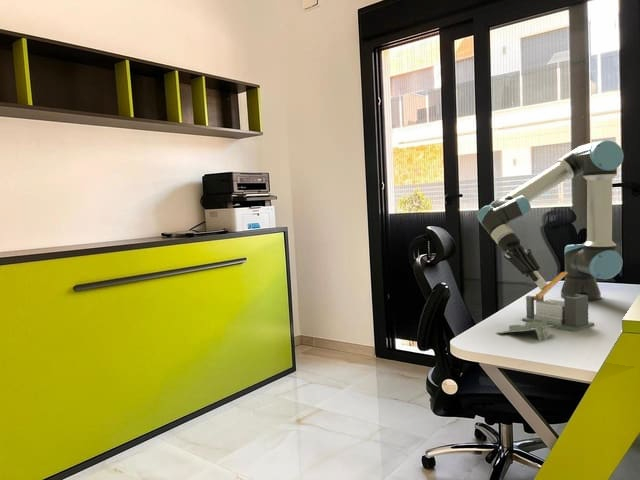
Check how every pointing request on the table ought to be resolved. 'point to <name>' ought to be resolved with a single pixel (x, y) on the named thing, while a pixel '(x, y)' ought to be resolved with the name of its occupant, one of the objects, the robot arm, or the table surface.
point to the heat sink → (546, 310)
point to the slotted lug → (576, 310)
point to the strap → (550, 285)
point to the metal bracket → (530, 328)
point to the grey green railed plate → (560, 325)
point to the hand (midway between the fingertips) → (544, 287)
